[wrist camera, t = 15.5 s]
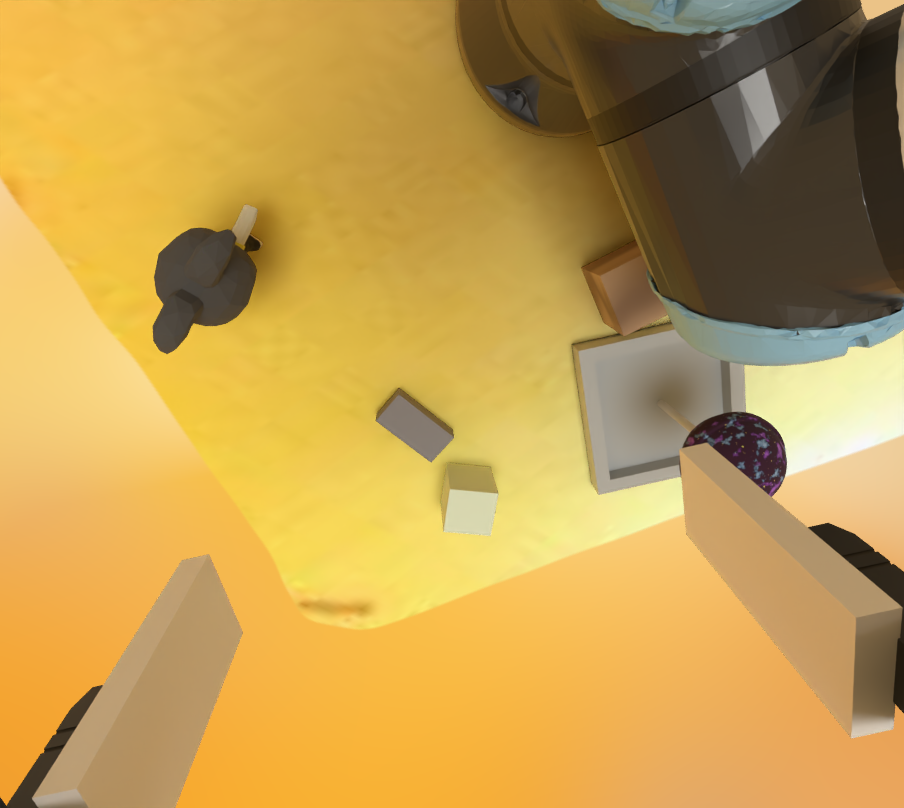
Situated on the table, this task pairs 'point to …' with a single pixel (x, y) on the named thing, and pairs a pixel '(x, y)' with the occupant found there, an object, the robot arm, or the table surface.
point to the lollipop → (740, 444)
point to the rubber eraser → (414, 425)
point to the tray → (647, 402)
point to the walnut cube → (623, 290)
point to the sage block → (468, 499)
